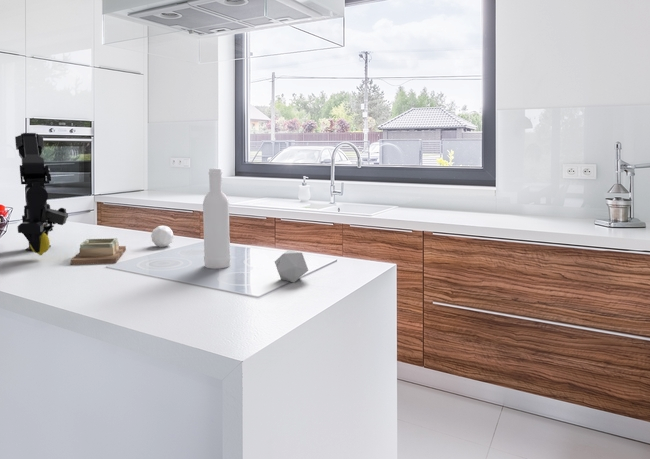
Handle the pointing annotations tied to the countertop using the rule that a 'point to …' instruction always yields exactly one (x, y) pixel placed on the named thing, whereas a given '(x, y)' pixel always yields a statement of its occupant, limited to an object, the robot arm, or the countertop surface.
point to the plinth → (98, 258)
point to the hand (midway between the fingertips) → (40, 250)
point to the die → (291, 266)
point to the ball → (162, 236)
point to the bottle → (216, 224)
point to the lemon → (43, 244)
